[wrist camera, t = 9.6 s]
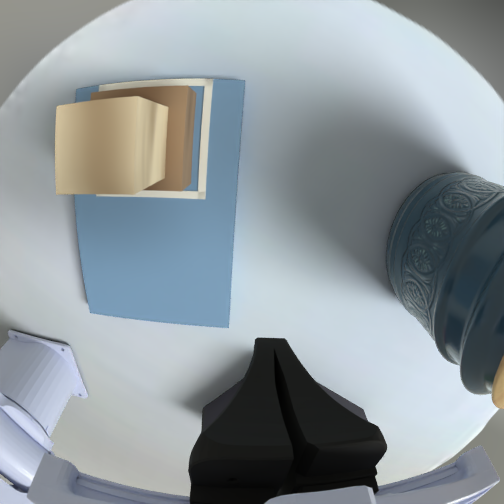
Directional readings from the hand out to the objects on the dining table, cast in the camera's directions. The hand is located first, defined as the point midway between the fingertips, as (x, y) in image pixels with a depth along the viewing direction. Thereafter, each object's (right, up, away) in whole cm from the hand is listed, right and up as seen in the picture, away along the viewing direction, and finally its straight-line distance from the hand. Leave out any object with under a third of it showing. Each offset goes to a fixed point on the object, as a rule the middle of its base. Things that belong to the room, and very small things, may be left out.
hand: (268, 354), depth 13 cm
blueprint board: (-8, +8, +7) cm, 13 cm away
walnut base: (-7, +12, +5) cm, 15 cm away
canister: (+16, +6, +9) cm, 19 cm away
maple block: (-7, +11, +2) cm, 13 cm away
